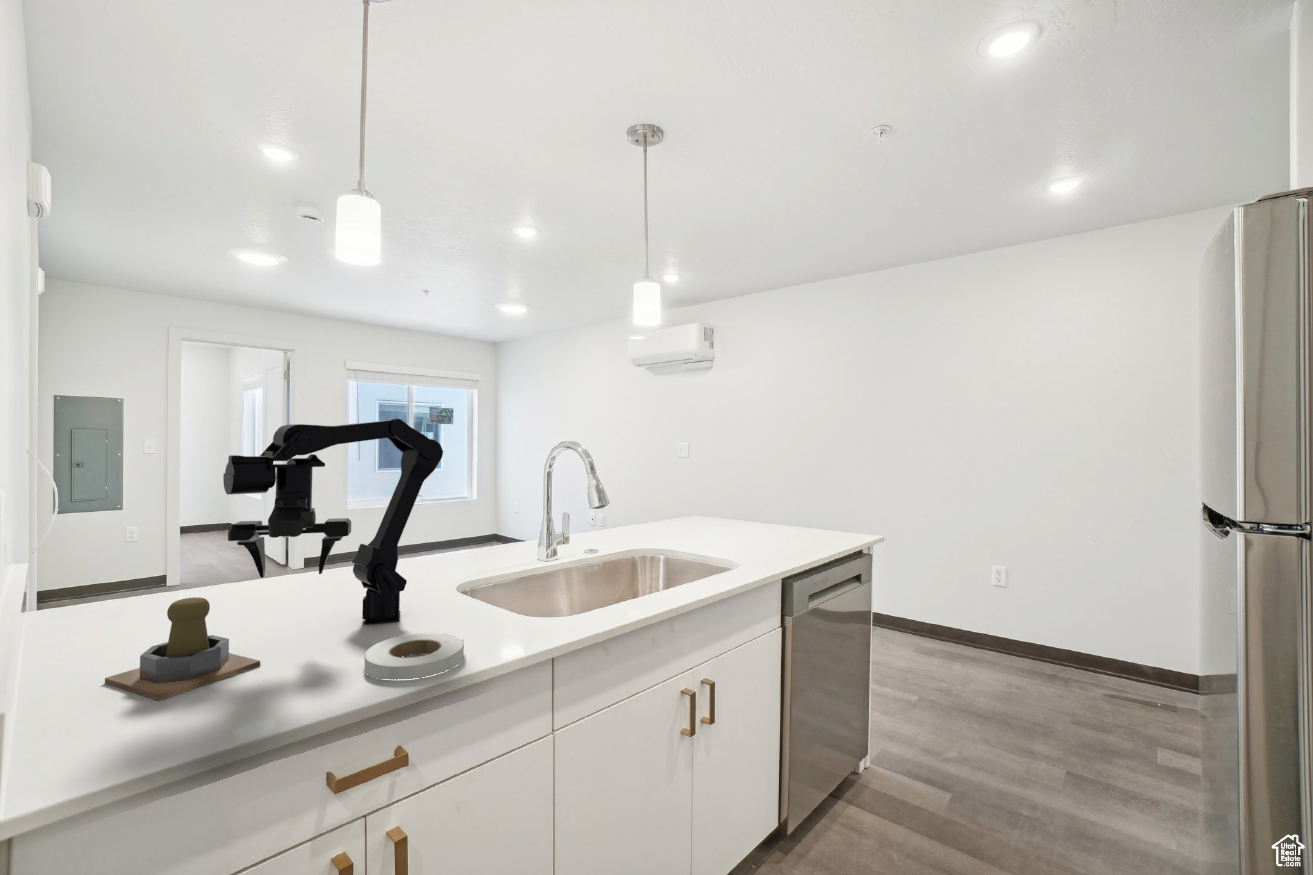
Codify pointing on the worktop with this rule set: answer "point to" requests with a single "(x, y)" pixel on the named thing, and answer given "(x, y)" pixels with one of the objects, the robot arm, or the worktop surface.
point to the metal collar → (183, 662)
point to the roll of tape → (391, 665)
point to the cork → (187, 626)
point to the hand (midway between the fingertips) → (292, 575)
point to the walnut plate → (169, 689)
